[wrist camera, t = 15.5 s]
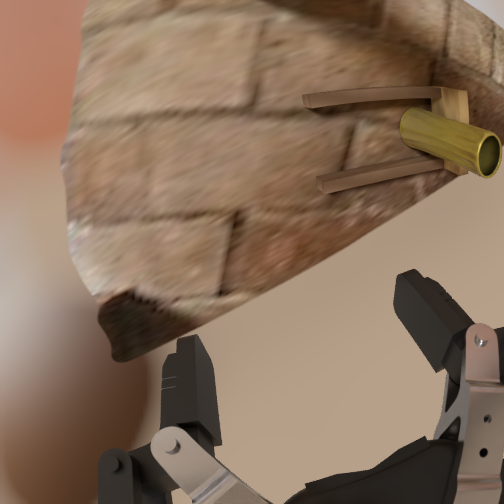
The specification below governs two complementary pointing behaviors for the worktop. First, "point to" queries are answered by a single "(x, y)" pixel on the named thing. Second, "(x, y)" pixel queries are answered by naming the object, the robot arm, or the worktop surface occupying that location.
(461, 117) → the track
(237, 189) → the worktop surface
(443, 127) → the vase
